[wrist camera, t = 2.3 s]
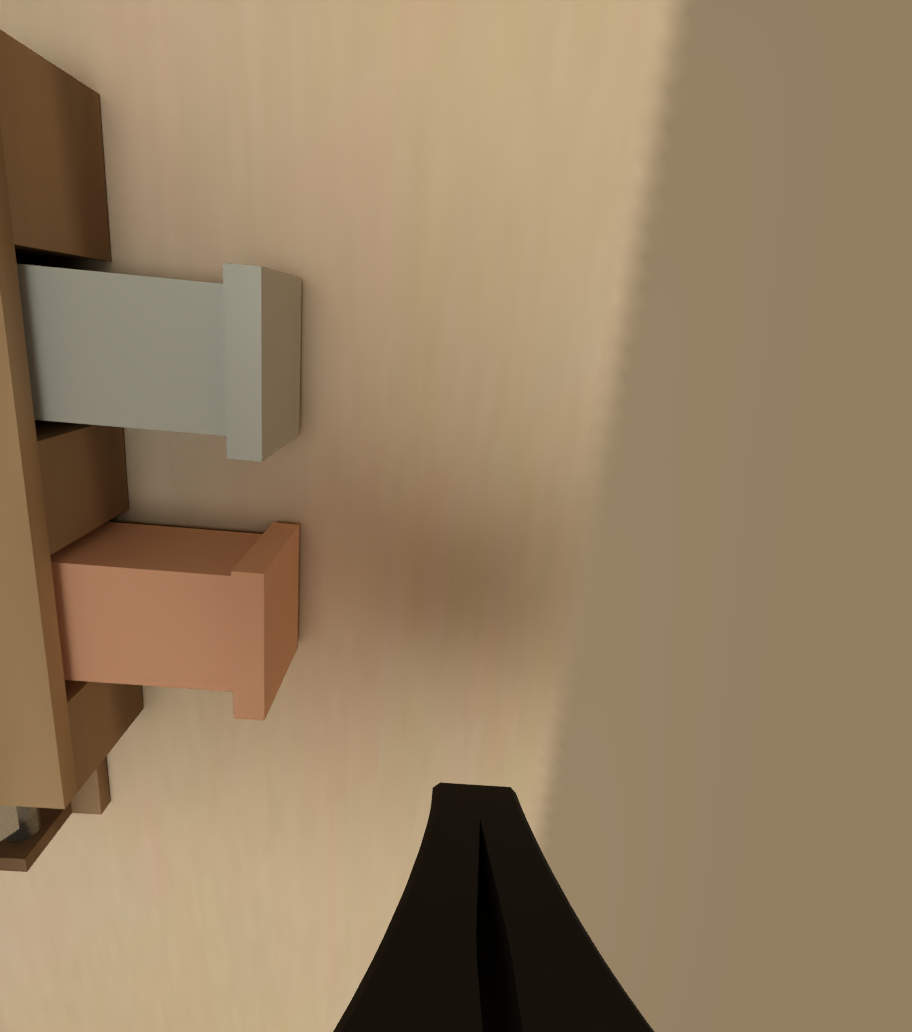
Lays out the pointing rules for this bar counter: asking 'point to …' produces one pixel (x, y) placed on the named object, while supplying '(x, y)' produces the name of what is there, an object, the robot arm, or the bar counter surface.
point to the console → (49, 461)
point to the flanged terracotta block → (180, 609)
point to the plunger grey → (167, 353)
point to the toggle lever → (19, 822)
